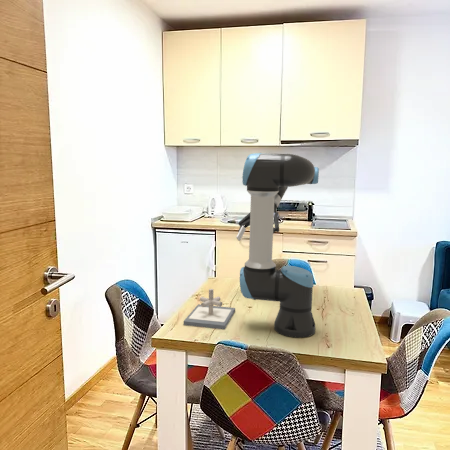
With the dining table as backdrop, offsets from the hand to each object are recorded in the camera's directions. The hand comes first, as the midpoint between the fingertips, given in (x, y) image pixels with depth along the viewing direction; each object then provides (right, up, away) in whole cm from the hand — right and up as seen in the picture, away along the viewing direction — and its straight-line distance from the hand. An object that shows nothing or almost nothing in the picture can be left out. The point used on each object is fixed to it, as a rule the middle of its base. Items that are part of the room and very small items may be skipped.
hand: (250, 240), depth 185 cm
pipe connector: (-17, -29, -16) cm, 37 cm away
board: (-17, -30, -16) cm, 38 cm away
